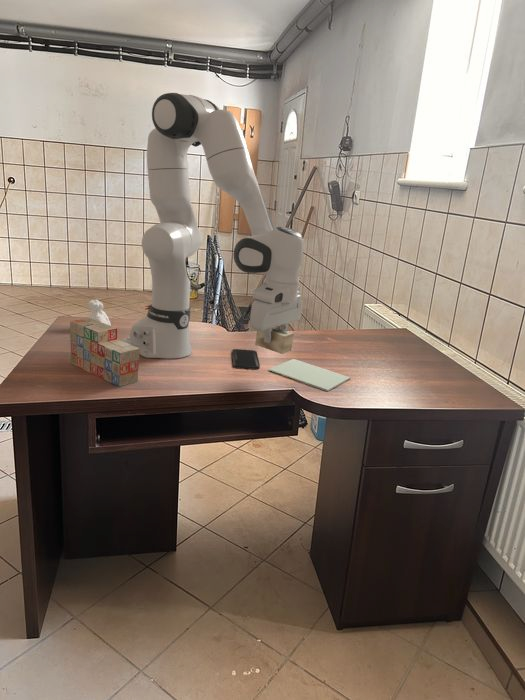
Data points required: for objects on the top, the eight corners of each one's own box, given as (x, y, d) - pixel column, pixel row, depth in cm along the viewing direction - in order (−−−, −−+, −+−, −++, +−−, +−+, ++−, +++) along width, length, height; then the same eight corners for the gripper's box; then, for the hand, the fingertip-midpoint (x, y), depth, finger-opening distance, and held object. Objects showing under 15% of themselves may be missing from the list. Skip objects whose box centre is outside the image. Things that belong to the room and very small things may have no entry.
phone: (256, 350, 166) (260, 367, 152) (256, 353, 166) (259, 370, 152) (231, 348, 165) (233, 365, 151) (231, 352, 165) (233, 368, 151)
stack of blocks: (138, 381, 134) (140, 337, 130) (118, 387, 130) (119, 341, 126) (89, 358, 146) (89, 316, 142) (70, 363, 141) (69, 320, 138)
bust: (99, 330, 177) (78, 304, 173) (117, 318, 178) (97, 292, 173) (98, 341, 166) (75, 314, 162) (117, 328, 167) (95, 301, 162)
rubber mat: (268, 370, 152) (268, 369, 152) (293, 360, 163) (293, 358, 163) (327, 391, 141) (328, 389, 141) (350, 378, 152) (350, 377, 152)
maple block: (255, 344, 142) (257, 326, 140) (264, 341, 146) (266, 324, 144) (282, 354, 137) (284, 335, 136) (291, 350, 141) (293, 332, 139)
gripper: (291, 284, 146) (284, 330, 151) (248, 292, 130) (242, 344, 134) (310, 289, 143) (303, 336, 147) (269, 298, 127) (262, 350, 131)
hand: (274, 340), depth 141 cm, fingers closed on maple block, 4 cm apart
